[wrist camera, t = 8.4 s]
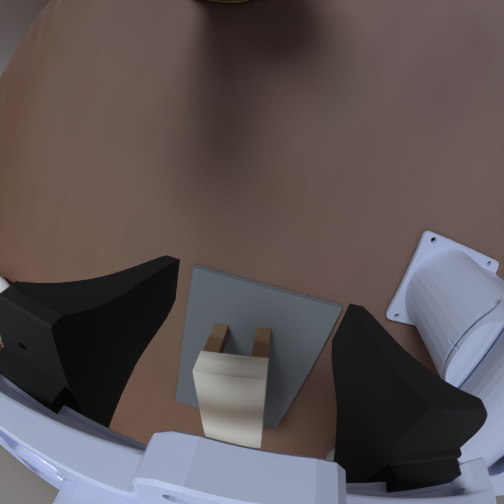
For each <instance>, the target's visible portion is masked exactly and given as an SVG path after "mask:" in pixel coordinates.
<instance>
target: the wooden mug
mask: <svg viewBox="0 0 504 504" xmlns="http://www.w3.org/2000/svg"><path fill="white" fill-rule="evenodd" d="M208 1H215V2H221V3H242V2H246V1H250V0H208Z"/></svg>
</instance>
